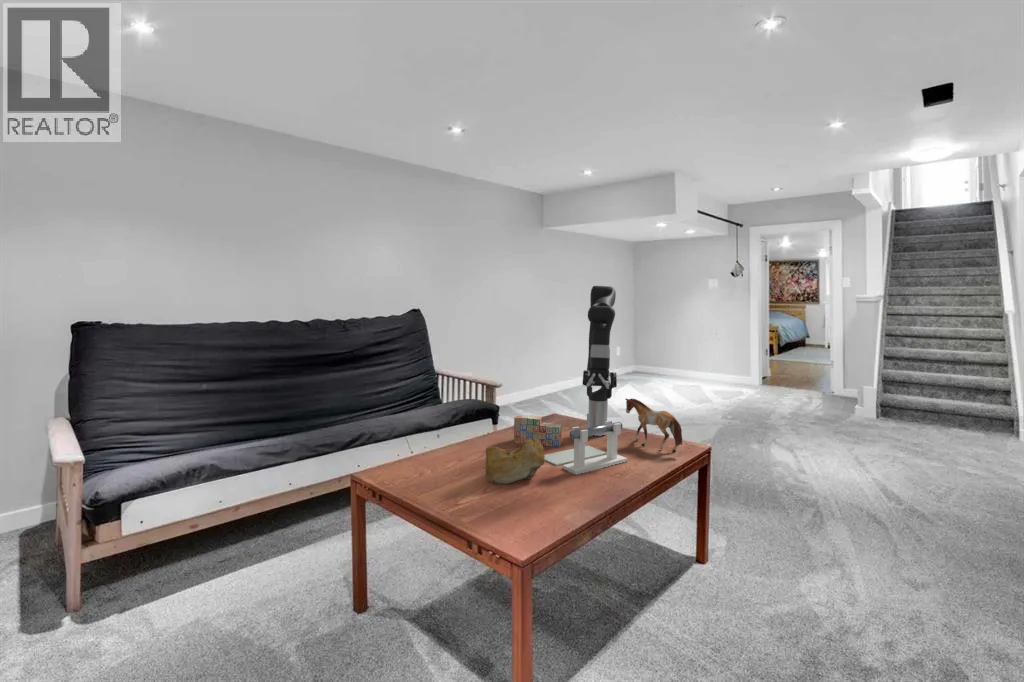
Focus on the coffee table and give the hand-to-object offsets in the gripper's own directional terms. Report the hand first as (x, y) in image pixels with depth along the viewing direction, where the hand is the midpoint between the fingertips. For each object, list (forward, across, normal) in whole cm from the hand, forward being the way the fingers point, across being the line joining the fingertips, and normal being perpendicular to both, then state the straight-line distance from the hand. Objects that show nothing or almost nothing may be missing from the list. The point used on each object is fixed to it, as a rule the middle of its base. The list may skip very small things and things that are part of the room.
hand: (598, 397), depth 204 cm
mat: (+27, +17, -9) cm, 33 cm away
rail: (+15, +3, -4) cm, 16 cm away
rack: (+28, +4, -5) cm, 29 cm away
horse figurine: (+25, -2, -42) cm, 49 cm away
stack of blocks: (+26, +40, -12) cm, 49 cm away
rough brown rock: (+31, +20, +28) cm, 46 cm away
